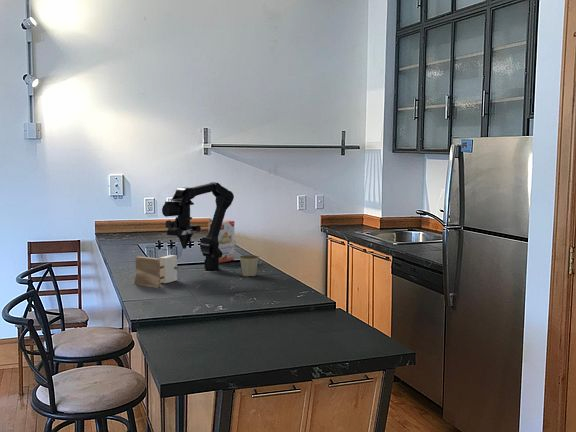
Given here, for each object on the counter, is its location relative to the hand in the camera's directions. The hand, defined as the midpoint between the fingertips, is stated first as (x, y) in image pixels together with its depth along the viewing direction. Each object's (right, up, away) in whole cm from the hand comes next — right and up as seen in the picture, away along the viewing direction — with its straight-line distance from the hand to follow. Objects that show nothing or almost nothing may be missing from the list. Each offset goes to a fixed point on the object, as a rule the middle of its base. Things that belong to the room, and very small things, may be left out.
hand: (184, 248), depth 297 cm
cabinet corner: (-10, -14, -17) cm, 24 cm away
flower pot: (+30, -13, 0) cm, 32 cm away
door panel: (-4, -14, -16) cm, 21 cm away
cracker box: (+14, -9, +35) cm, 38 cm away
